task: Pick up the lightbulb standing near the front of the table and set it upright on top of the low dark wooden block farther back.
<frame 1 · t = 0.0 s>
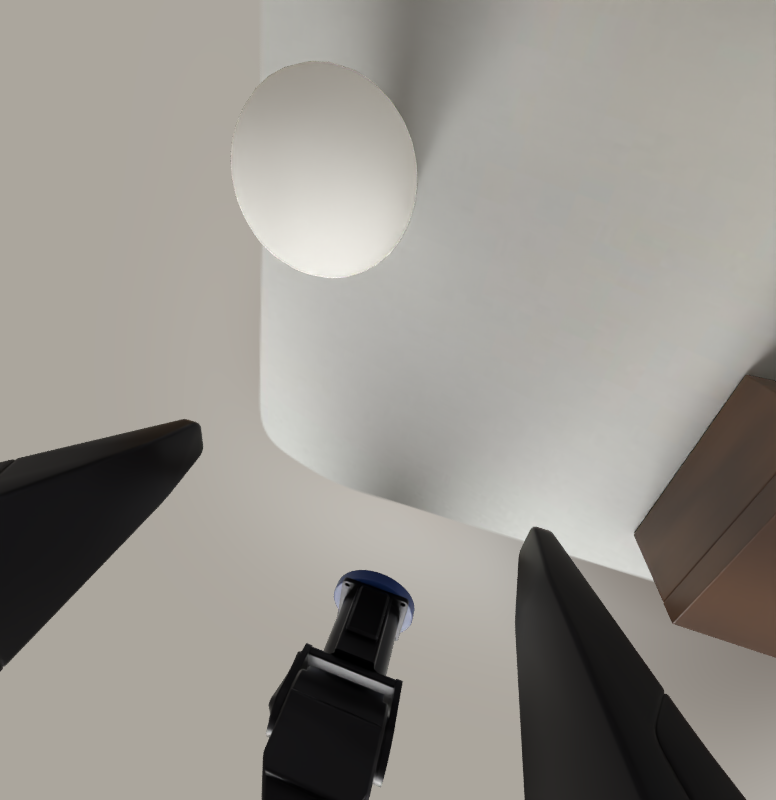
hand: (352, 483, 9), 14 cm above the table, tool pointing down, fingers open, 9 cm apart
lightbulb: (389, 197, 19), on the table
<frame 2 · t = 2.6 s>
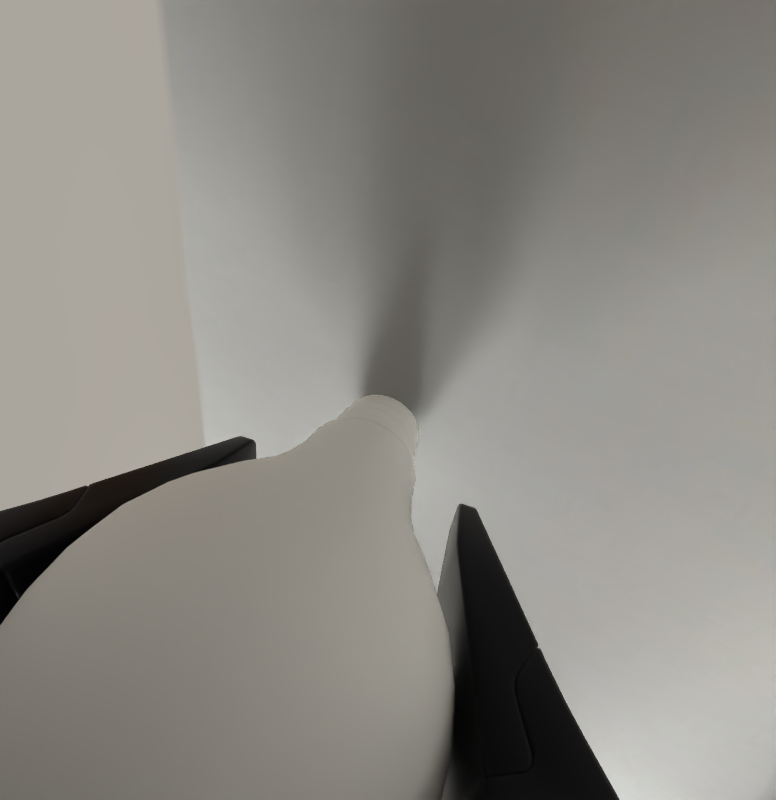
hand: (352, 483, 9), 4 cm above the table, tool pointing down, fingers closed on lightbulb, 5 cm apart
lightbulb: (388, 415, 12), on the table, touching gripper
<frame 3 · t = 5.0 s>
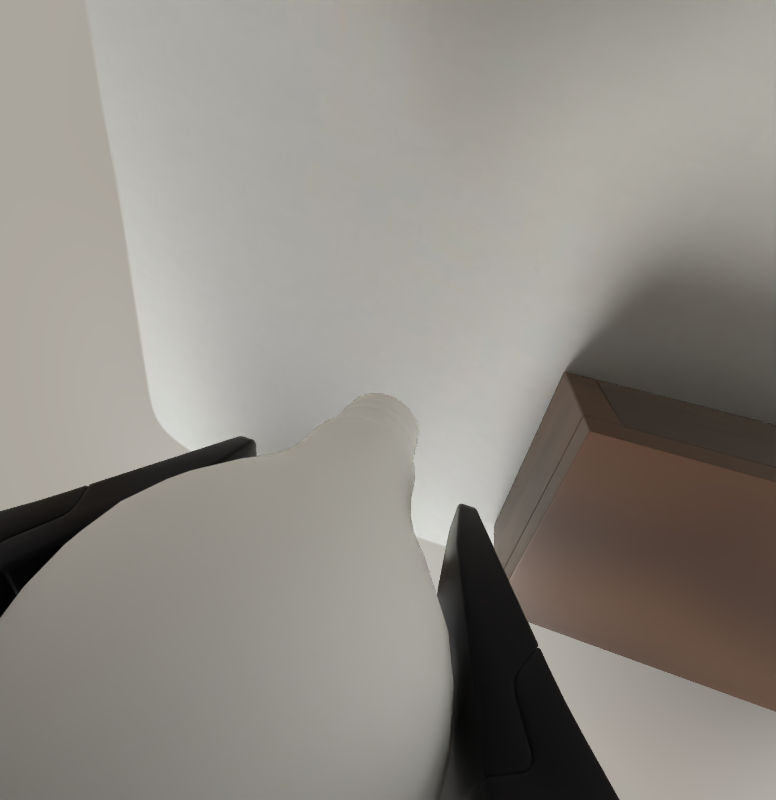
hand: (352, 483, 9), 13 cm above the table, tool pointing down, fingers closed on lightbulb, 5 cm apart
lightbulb: (388, 413, 12), point 9 cm above the table, touching gripper
dark wooden block: (681, 505, 21), on the table
when the fingers open (10 cm above the table, at t = 7.5 s): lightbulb stays where it is, resting on dark wooden block.
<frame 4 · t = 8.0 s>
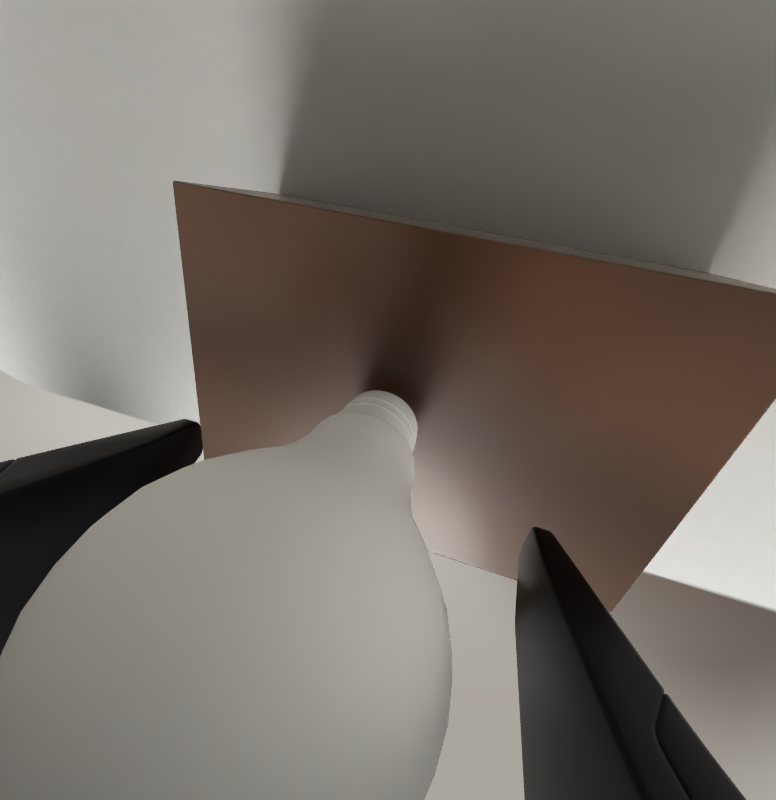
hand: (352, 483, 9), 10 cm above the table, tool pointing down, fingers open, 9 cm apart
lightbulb: (388, 410, 13), point 6 cm above the table, touching dark wooden block
dark wooden block: (440, 361, 18), on the table
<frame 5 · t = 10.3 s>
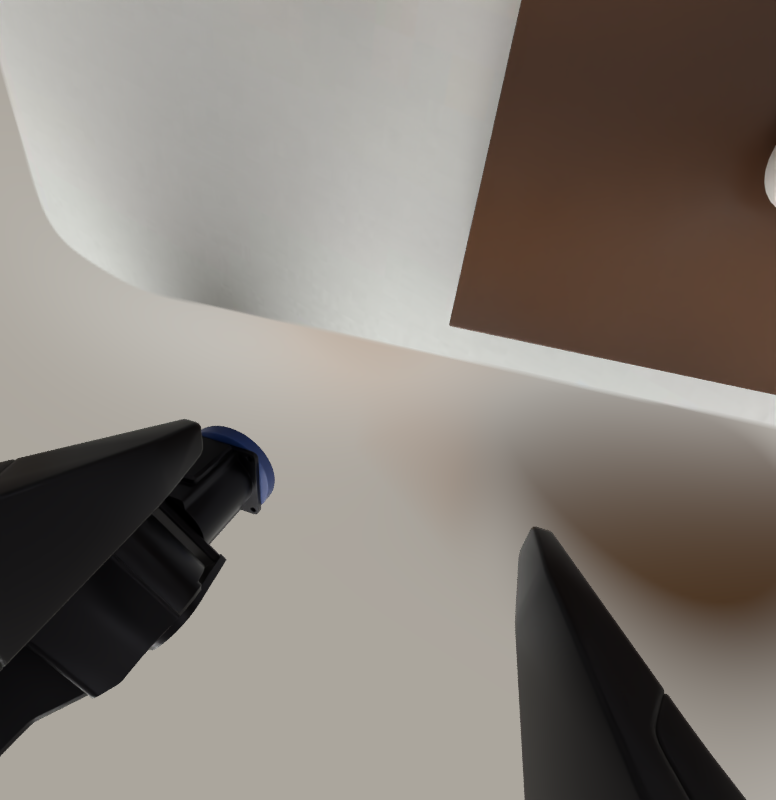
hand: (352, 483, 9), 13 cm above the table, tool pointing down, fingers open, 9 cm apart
dark wooden block: (725, 185, 14), on the table
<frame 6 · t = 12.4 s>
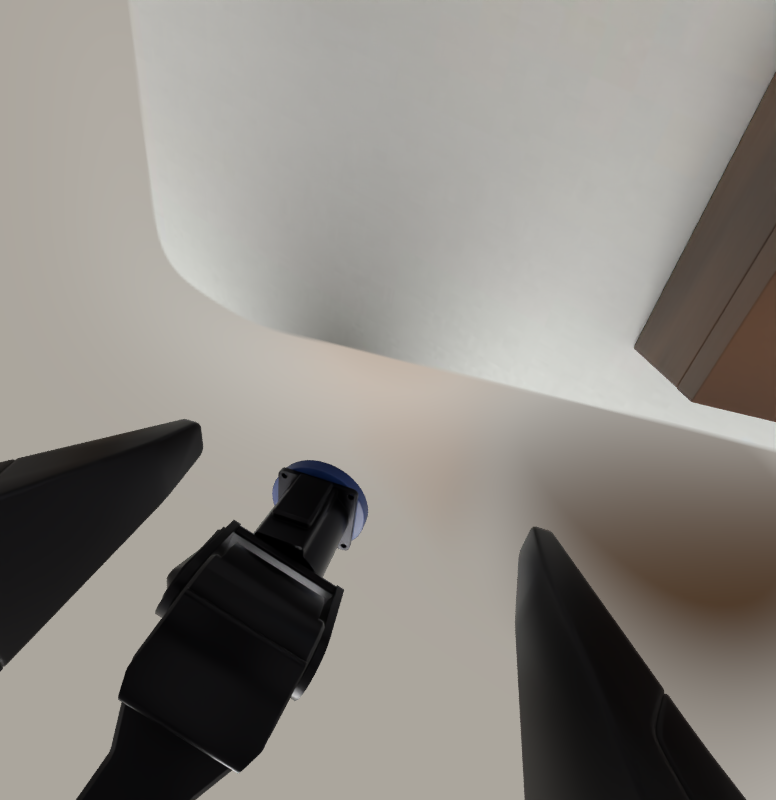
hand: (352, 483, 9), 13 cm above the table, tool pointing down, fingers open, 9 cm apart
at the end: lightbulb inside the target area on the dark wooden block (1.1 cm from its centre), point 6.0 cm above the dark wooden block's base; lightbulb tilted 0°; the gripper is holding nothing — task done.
